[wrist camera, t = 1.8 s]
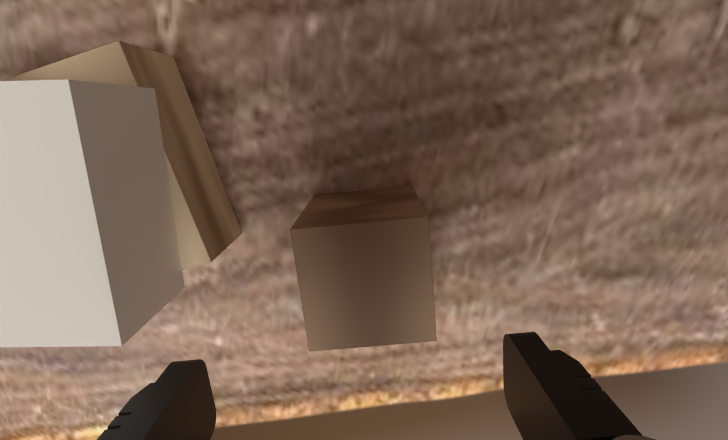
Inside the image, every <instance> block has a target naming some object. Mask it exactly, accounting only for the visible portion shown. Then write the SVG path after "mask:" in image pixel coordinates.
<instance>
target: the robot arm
mask: <svg viewBox="0 0 728 440" xmlns="http://www.w3.org/2000/svg"><path fill="white" fill-rule="evenodd" d="M503 376H504V393H505V398H506V402H507V406H508V409H509V411H510V413H511V415H512V418H513V419H514V421H515V424H516V426H517V428H518V430H519V432H520V434H521V436H522V438H523V440H655V439H652V438H648V437H645V436H642V435H641V433H640V432H639V431H638V430H637V429H636V427H635V426H634V425H633V424H632V423H631V422H630V421H629V419H628V418H627V417H626V416H625V415H624V413H622V411H621V410H620V409H619V408H618V407H617V405H616V404H615V403H614V402H613V401H612V400H611V398H610V397H609V396H608V395H607V394H606V393H605V392H604V391H602V389H601V387H600V386H599V384H598V383H597V382H596V381H595V380H594V379H592V378H591V375H590V374H589V373H588V372H587V371H586V369H585V368H584V367H583V366H582V365H581V364H580V362H579V361H577V360H576V359H574V358H572V357H571V356H569V355H567V354H566V353H564V352H562V351H561V350H552V351H550V350H549V349H548V347H547V346H546V345H545V344H544V342H543V341H542V340H541V338H540V337H539V336H538V335H537V334H536V333H535V332H527V333H515V334H505V336H504V339H503ZM215 423H216V408H215V403H214V399H213V394H212V390H211V385H210V381H209V377H208V372H207V368H206V365H205V363H204V361H203V360H188V361H176V362H172V363H170V364H169V365H168V367H167V368H166V369H165V371H164V372H163V373H162V374H161V376H160V377H159V378H158V380H157V381H156V382H155V383H150V384H149V385H148V386H146V387H145V388H144V389H142V390H141V391H140V392H138V393H137V394H136V395H134V396H133V397H132V398H131V399H130V400H129V401H128V403H127V404H126V405H125V406H124V407H123V409H122V410H121V411H120V412H119V416H116V417H115V418H114V420H113V421H112V422H111V423H110V425H109V426H108V429H107V430H105V431H104V432H103V433H102V434H101V435H100V437H99V438H98V439H97V440H210V439H211V437H212V434H213V432H214V428H215Z"/></svg>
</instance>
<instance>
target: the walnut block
mask: <svg viewBox="0 0 728 440" xmlns="http://www.w3.org/2000/svg"><path fill="white" fill-rule="evenodd" d="M290 232H291V238H292V245H293V251H294V257H295V264H296V270H297V277H298V283H299V289H300V296H301V302H302V309H303V315H304V321H305V328H306V334H307V341H308V347H309V351H320V350H332V349H344V348H357V347H369V346H381V345H393V344H405V343H417V342H429V341H437V338H436V323H435V308H434V292H433V277H432V262H431V246H430V231H429V216H428V215H427V213H426V211H425V209H424V208H423V206H422V204H421V202H420V200H419V199H418V197H417V195H416V193H415V191H414V190H413V188H412V186H405V187H395V188H385V189H375V190H365V191H354V192H344V193H334V194H324V195H314V196H313V198H312V199H311V201H310V202H309V203H308V205H307V206H306V208H305V209H304V211H303V212H302V214H301V215H300V216H299V218H298V219H297V221H296V222H295V224H294V225H293V226H292V228H291V229H290Z"/></svg>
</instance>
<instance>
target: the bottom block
mask: <svg viewBox="0 0 728 440" xmlns="http://www.w3.org/2000/svg"><path fill="white" fill-rule="evenodd" d="M66 79H69V80H78V81H87V82H97V83H106V84H116V85H125V86H135V87H144V88H154V89H155V93H156V100H157V107H158V113H159V120H160V127H161V134H162V140H163V147H164V154H165V160H166V167H167V174H168V180H169V187H170V194H171V200H172V207H173V214H174V220H175V227H176V234H177V240H178V247H179V254H180V260H181V267H182V270H185V269H188V268H192V267H195V266H199V265H202V264H206V263H209V262H212V261H213V260H214V259H215V258H216V257H217V256H218V255H219V254H220V253H221V252H222V251H223V250H224V249H226V248H227V247H228V246H229V245H230V244H231V243H232V242H233V241H234V240H235V239H236V238H237V237H238V236H239V235H240V234H242V231H241V229H240V226H239V224H238V221H237V219H236V216H235V214H234V211H233V208H232V206H231V203H230V201H229V198H228V196H227V193H226V190H225V188H224V185H223V183H222V180H221V178H220V175H219V173H218V170H217V167H216V165H215V162H214V160H213V157H212V155H211V152H210V149H209V147H208V144H207V142H206V139H205V137H204V134H203V132H202V129H201V126H200V124H199V121H198V119H197V116H196V114H195V111H194V108H193V106H192V103H191V101H190V98H189V96H188V93H187V91H186V88H185V85H184V83H183V80H182V78H181V75H180V73H179V70H178V67H177V65H176V62H175V60H174V57H173V56H170V55H167V54H163V53H160V52H156V51H153V50H149V49H146V48H142V47H139V46H135V45H132V44H128V43H125V42H121V41H116V42H113V43H110V44H107V45H104V46H102V47H99V48H96V49H93V50H90V51H87V52H84V53H81V54H78V55H75V56H73V57H70V58H67V59H64V60H61V61H58V62H55V63H52V64H49V65H46V66H44V67H41V68H38V69H35V70H32V71H29V72H26V73H23V74H20V75H17V76H15V77H12V78H9V79H6V80H3V81H28V80H66Z"/></svg>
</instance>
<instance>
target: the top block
mask: <svg viewBox="0 0 728 440" xmlns="http://www.w3.org/2000/svg"><path fill="white" fill-rule="evenodd" d="M183 288H184V281H183V274H182V267H181V260H180V254H179V247H178V240H177V234H176V227H175V220H174V214H173V207H172V200H171V194H170V187H169V180H168V174H167V167H166V160H165V154H164V147H163V140H162V134H161V127H160V120H159V113H158V107H157V100H156V93H155V89H154V88H144V87H135V86H125V85H116V84H106V83H97V82H87V81H78V80H69V79H66V80H28V81H0V347H71V346H122V345H123V344H124V343H126V342H127V341H128V340H129V339H130V338H131V337H132V336H133V335H134V334H135V333H136V332H137V331H138V330H139V329H140V328H141V327H143V326H144V325H145V324H146V323H147V322H148V321H149V320H150V319H151V318H152V317H153V316H154V315H155V314H156V313H157V312H159V311H160V310H161V309H162V308H163V307H164V306H165V305H166V304H167V303H168V302H169V301H170V300H171V299H172V298H173V297H174V296H176V295H177V294H178V293H179V292H180V291H181V290H182V289H183Z"/></svg>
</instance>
